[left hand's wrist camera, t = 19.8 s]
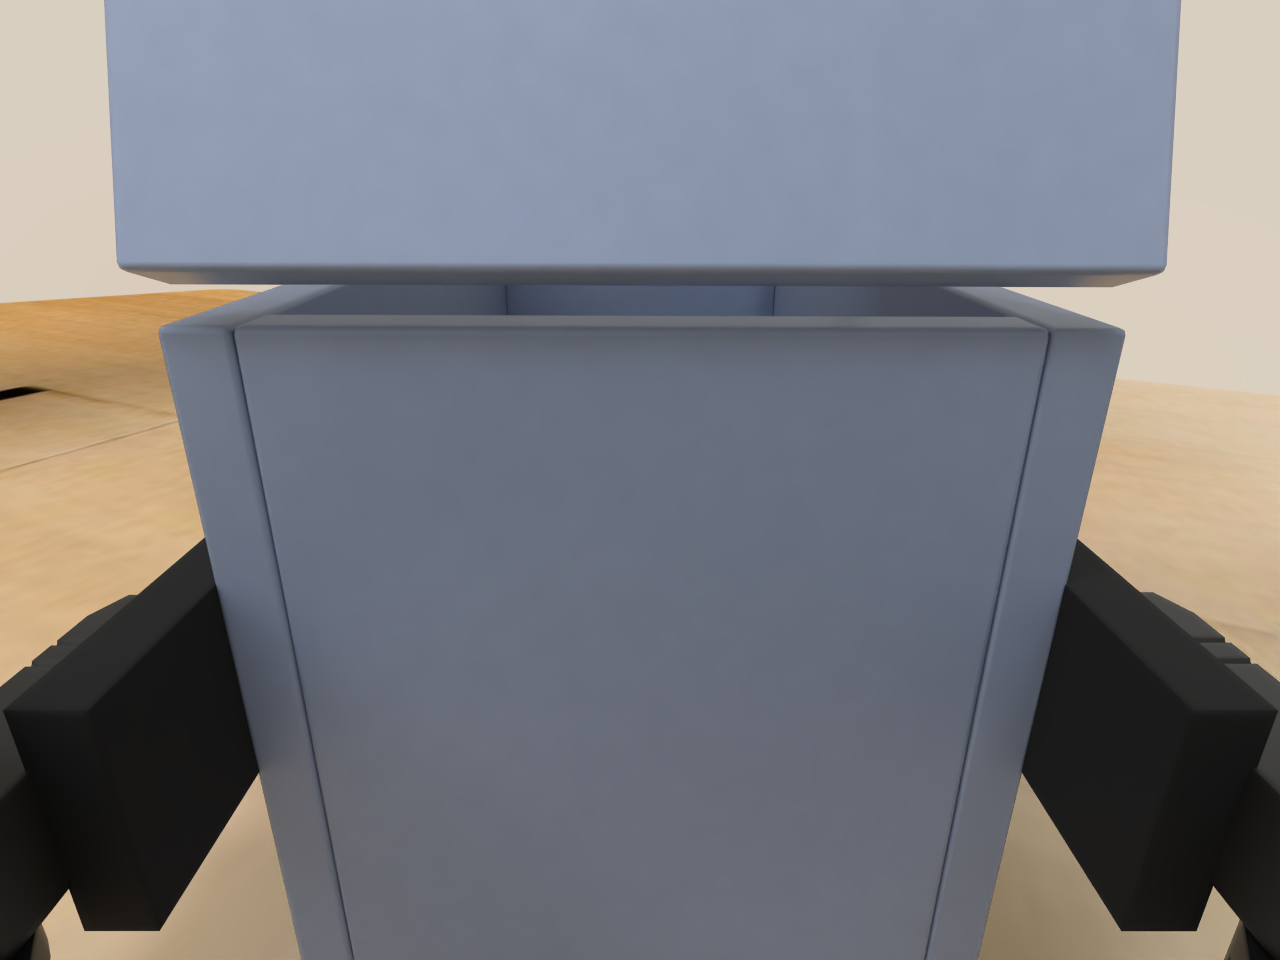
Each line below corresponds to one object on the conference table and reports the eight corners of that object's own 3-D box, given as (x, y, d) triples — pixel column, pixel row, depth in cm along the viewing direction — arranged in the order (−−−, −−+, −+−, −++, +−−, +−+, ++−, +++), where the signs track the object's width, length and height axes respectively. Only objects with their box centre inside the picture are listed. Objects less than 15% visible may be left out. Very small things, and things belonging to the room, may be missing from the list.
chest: (503, 546, 28) (480, 216, 24) (775, 546, 28) (800, 217, 24) (321, 1056, 12) (151, 326, 8) (955, 1058, 12) (1130, 329, 8)
